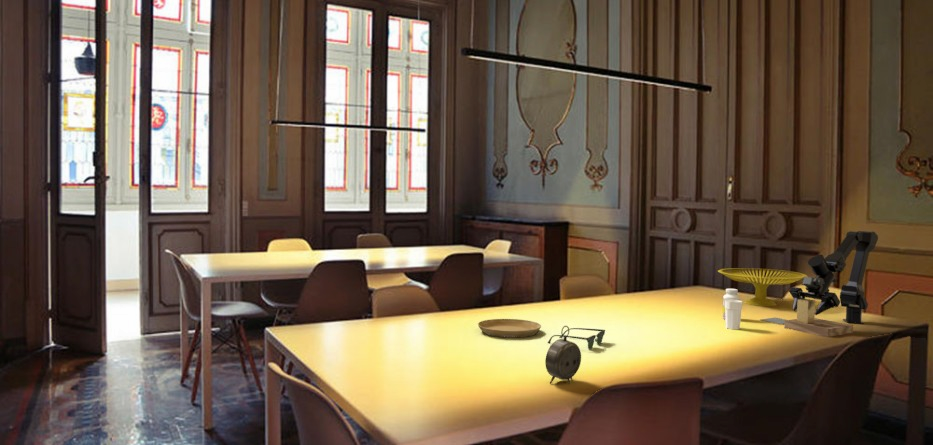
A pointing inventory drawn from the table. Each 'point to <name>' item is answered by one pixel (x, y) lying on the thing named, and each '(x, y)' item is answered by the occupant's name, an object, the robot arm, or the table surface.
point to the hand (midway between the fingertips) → (804, 312)
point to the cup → (733, 313)
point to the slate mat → (775, 320)
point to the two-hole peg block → (820, 327)
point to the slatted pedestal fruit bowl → (761, 282)
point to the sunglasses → (589, 339)
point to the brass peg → (805, 311)
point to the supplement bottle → (729, 297)
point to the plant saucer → (509, 327)
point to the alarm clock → (563, 359)
